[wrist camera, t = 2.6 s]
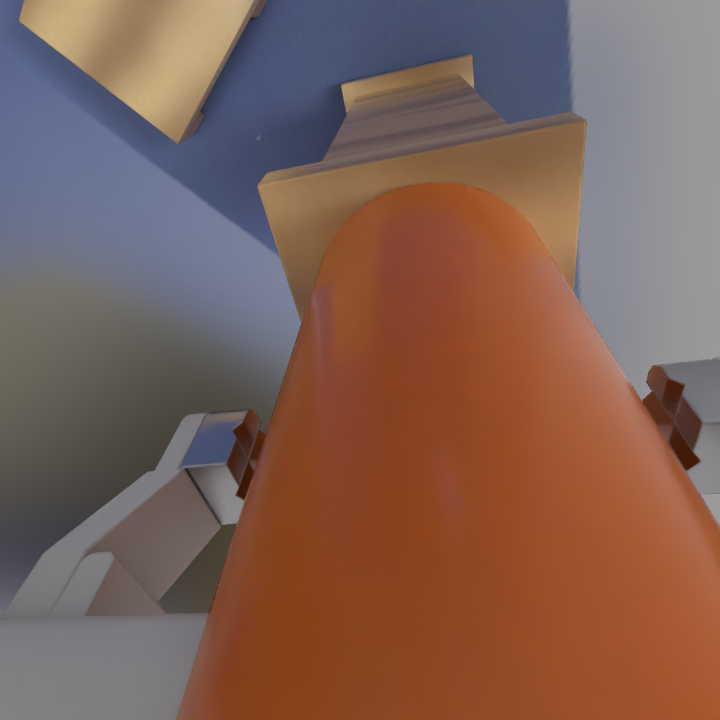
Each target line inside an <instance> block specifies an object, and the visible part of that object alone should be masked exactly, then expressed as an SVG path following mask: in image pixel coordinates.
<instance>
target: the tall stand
mask: <svg viewBox="0 0 720 720" xmlns="http://www.w3.org/2000/svg"><path fill="white" fill-rule="evenodd" d="M341 89H342V94H343V99H344V104H345V109H346V114H347V115H346V117H345V119H344V121H343V123H342V125H341V127H340V128H339V130H338V132H337V134H336V136H335V138H334V140H333V142H332V143H331V145H330V147H329V149H328V151H327V153H326V155H325V156H324V158H323V160H322V162H317V163H312V164H307V165H302V166H297V167H292V168H287V169H282V170H277V171H272V172H268V173H267V174H266V175H265V176H264V177H263V179H262V180H261V181H260V182H259V183H258V185H257V188H258V191H259V194H260V197H261V200H262V203H263V206H264V209H265V212H266V215H267V218H268V222H269V225H270V228H271V231H272V234H273V237H274V240H275V243H276V246H277V249H278V252H279V255H280V259H281V262H282V265H283V268H284V271H285V274H286V277H287V280H288V283H289V286H290V289H291V292H292V296H293V299H294V302H295V305H296V308H297V311H298V314H299V317H300V320H301V323H302V320H303V317H304V314H305V311H306V308H307V305H308V301H309V298H310V295H311V292H312V289H313V286H314V283H315V280H316V277H317V273H318V270H319V267H320V264H321V261H322V259H323V256H324V254H325V251H326V249H327V247H328V245H329V244H330V242H331V240H332V238H333V237H334V235H335V234H336V233H337V232H338V230H339V229H340V228H341V226H342V225H343V224H344V223H345V222H346V221H347V220H348V219H349V218H350V217H351V216H352V215H353V214H354V213H356V212H357V211H358V210H360V209H361V208H362V207H364V206H365V205H366V204H368V203H369V202H371V201H373V200H375V199H377V198H378V197H380V196H382V195H384V194H387V193H389V192H392V191H394V190H397V189H400V188H404V187H408V186H412V185H416V184H425V183H455V184H461V185H468V186H471V187H475V188H478V189H481V190H485V191H487V192H489V193H491V194H493V195H495V196H497V197H500V198H501V199H503V200H504V201H506V202H507V203H509V204H510V205H512V206H513V207H514V208H515V209H517V210H518V211H519V212H520V213H521V214H522V215H523V216H524V217H525V218H526V219H527V220H528V222H529V223H530V224H531V225H532V227H533V228H534V229H535V231H536V232H537V234H538V235H539V237H540V239H541V240H542V242H543V244H544V245H545V247H546V248H547V250H548V252H549V253H550V255H551V256H552V258H553V260H554V261H555V263H556V264H557V266H558V268H559V269H560V271H561V272H562V274H563V276H564V277H565V279H566V280H567V282H568V284H569V285H570V287H571V288H572V290H573V292H574V282H575V269H576V256H577V243H578V230H579V217H580V203H581V191H582V178H583V165H584V152H585V140H586V126H587V122H586V120H585V119H583V118H582V117H580V116H578V115H576V114H575V113H573V112H566V113H561V114H556V115H551V116H546V117H541V118H536V119H531V120H526V121H521V122H516V123H511V124H508V123H507V122H506V121H505V120H504V119H503V118H502V117H501V116H500V115H499V114H498V113H497V112H496V111H495V110H494V109H493V108H492V107H491V106H490V105H489V104H488V103H487V102H486V101H485V100H484V99H483V98H482V97H481V95H480V94H479V93H478V92H477V91H476V90H475V89H474V78H473V58H472V55H471V54H467V55H462V56H458V57H454V58H449V59H445V60H441V61H436V62H432V63H428V64H423V65H419V66H415V67H410V68H406V69H401V70H397V71H393V72H388V73H384V74H380V75H375V76H371V77H367V78H362V79H358V80H354V81H349V82H345V83H342V85H341Z"/></svg>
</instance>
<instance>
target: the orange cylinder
mask: <svg viewBox="0 0 720 720" xmlns="http://www.w3.org/2000/svg"><path fill="white" fill-rule="evenodd" d="M176 720H720V525H719V524H718V522H717V521H716V519H715V517H714V516H713V514H712V513H711V511H710V510H709V508H708V506H707V505H706V503H705V501H704V500H703V498H702V497H701V495H700V493H699V492H698V490H697V489H696V487H695V485H694V484H693V482H692V481H691V479H690V477H689V476H688V474H687V473H686V471H685V469H684V468H683V466H682V465H681V463H680V461H679V460H678V458H677V456H676V455H675V453H674V452H673V450H672V448H671V447H670V445H669V444H668V442H667V440H666V439H665V437H664V436H663V434H662V432H661V431H660V429H659V428H658V426H657V424H656V423H655V421H654V420H653V418H652V416H651V415H650V413H649V412H648V410H647V408H646V407H645V405H644V404H643V402H642V401H641V399H640V397H639V396H638V394H637V393H636V391H635V389H634V388H633V386H632V385H631V383H630V381H629V380H628V378H627V376H626V375H625V373H624V372H623V370H622V369H621V367H620V365H619V364H618V362H617V360H616V359H615V357H614V356H613V354H612V352H611V351H610V349H609V348H608V346H607V344H606V343H605V341H604V340H603V338H602V336H601V335H600V333H599V332H598V330H597V329H596V327H595V325H594V324H593V322H592V320H591V319H590V317H589V316H588V314H587V313H586V311H585V309H584V308H583V306H582V304H581V303H580V301H579V300H578V298H577V296H576V295H575V293H574V292H573V290H572V288H571V287H570V285H569V284H568V282H567V280H566V279H565V277H564V276H563V274H562V272H561V271H560V269H559V268H558V266H557V264H556V263H555V261H554V260H553V258H552V256H551V255H550V253H549V252H548V250H547V248H546V247H545V245H544V244H543V242H542V240H541V239H540V237H539V235H538V234H537V232H536V231H535V229H534V228H533V227H532V225H531V224H530V223H529V222H528V220H527V219H526V218H525V217H524V216H523V215H522V214H521V213H520V212H519V211H518V210H517V209H515V208H514V207H513V206H512V205H510V204H509V203H507V202H506V201H504V200H503V199H501V198H500V197H497V196H495V195H493V194H491V193H489V192H487V191H485V190H481V189H478V188H475V187H471V186H468V185H461V184H455V183H425V184H416V185H412V186H408V187H404V188H400V189H397V190H394V191H392V192H389V193H387V194H384V195H382V196H380V197H378V198H377V199H375V200H373V201H371V202H369V203H368V204H366V205H365V206H364V207H362V208H361V209H360V210H358V211H357V212H356V213H354V214H353V215H352V216H351V217H350V218H349V219H348V220H347V221H346V222H345V223H344V224H343V225H342V226H341V228H340V229H339V230H338V232H337V233H336V234H335V235H334V237H333V238H332V240H331V242H330V244H329V245H328V247H327V249H326V251H325V254H324V256H323V259H322V261H321V264H320V267H319V270H318V273H317V277H316V280H315V283H314V286H313V289H312V292H311V295H310V298H309V301H308V305H307V308H306V311H305V314H304V317H303V320H302V323H301V326H300V330H299V333H298V336H297V339H296V342H295V345H294V348H293V351H292V354H291V358H290V361H289V364H288V367H287V370H286V373H285V376H284V379H283V383H282V386H281V389H280V392H279V395H278V398H277V401H276V404H275V408H274V411H273V414H272V417H271V420H270V423H269V426H268V429H267V432H266V435H265V438H264V442H263V445H262V448H261V451H260V454H259V457H258V460H257V463H256V467H255V470H254V473H253V476H252V479H251V482H250V485H249V488H248V491H247V495H246V498H245V501H244V504H243V507H242V510H241V513H240V516H239V519H238V523H237V526H236V529H235V532H234V535H233V539H232V541H231V544H230V547H229V551H228V554H227V557H226V560H225V563H224V566H223V569H222V572H221V576H220V579H219V582H218V585H217V588H216V591H215V594H214V597H213V600H212V604H211V607H210V610H209V613H208V616H207V620H206V624H205V627H204V631H203V634H202V637H201V640H200V644H199V647H198V650H197V653H196V657H195V660H194V663H193V666H192V670H191V673H190V676H189V679H188V682H187V686H186V689H185V692H184V695H183V698H182V701H181V704H180V707H179V711H178V714H177V717H176Z"/></svg>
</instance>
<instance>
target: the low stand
mask: <svg viewBox="0 0 720 720" xmlns="http://www.w3.org/2000/svg"><path fill="white" fill-rule="evenodd" d="M267 1H268V0H24V3H23V7H22V10H21V14H20V18H19V21H20V22H21V23H22V24H24V25H25V26H26V27H27V28H29V29H30V30H31V31H33V32H34V33H35V34H36V35H38V36H39V37H40V38H42V39H43V40H44V41H45V42H47V43H48V44H49V45H51V46H52V47H53V48H54V49H56V50H57V51H58V52H60V53H61V54H62V55H64V56H65V57H66V58H67V59H69V60H70V61H71V62H73V63H74V64H75V65H76V66H78V67H79V68H80V69H82V70H83V71H84V72H85V73H87V74H88V75H89V76H91V77H92V78H93V79H94V80H96V81H97V82H98V83H100V84H101V85H102V86H104V87H105V88H106V89H107V90H109V91H110V92H111V93H113V94H114V95H115V96H116V97H118V98H119V99H120V100H122V101H123V102H124V103H125V104H127V105H128V106H129V107H131V108H132V109H133V110H135V111H136V112H137V113H138V114H140V115H141V116H142V117H144V118H145V119H146V120H147V121H149V122H150V123H151V124H153V125H154V126H155V127H156V128H158V129H159V130H160V131H162V132H163V133H164V134H165V135H167V136H168V137H169V138H171V139H172V140H173V141H175V142H176V143H177V144H179V143H180V142H182V141H184V140H185V139H187V138H189V137H190V136H192V135H194V134H195V132H196V131H197V129H198V127H199V125H200V123H201V121H202V120H203V118H204V114H203V113H202V112H200V111H201V109H202V107H203V105H204V103H205V101H206V100H207V98H208V96H209V94H210V92H211V90H212V88H213V87H214V85H215V83H216V81H217V79H218V77H219V75H220V74H221V72H222V70H223V68H224V66H225V64H226V62H227V61H228V59H229V57H230V55H231V53H232V51H233V49H234V48H235V46H236V44H237V42H238V40H239V38H240V36H241V35H242V33H243V31H244V29H245V27H246V25H247V23H248V21H249V20H250V18H251V17H259V15H260V14H261V12H262V10H263V8H264V6H265V4H266V3H267Z"/></svg>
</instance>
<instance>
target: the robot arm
mask: <svg viewBox="0 0 720 720" xmlns="http://www.w3.org/2000/svg"><path fill="white" fill-rule="evenodd" d="M646 383H647V384H648V386H649V387H650V389H651V390H652V392H651V393H650V394H649V395H648V396H647V397H646V398H645V399H643V401H642V402H643V404H644V405H645V407H646V408H647V410H648V412H649V413H650V415H651V416H652V418H653V420H654V421H655V423H656V424H657V426H658V428H659V429H660V431H661V432H662V434H663V436H664V437H665V439H666V440H667V442H668V444H669V445H670V447H671V448H672V450H673V452H674V453H675V455H676V456H677V458H678V460H679V461H680V463H681V465H682V466H683V468H684V469H685V471H686V473H687V474H688V476H689V477H690V479H691V481H692V482H693V484H694V485H695V487H696V489H697V490H698V492H699V493H700V494H720V357H718V358H713V359H706V360H697V361H688V362H679V363H671V364H662V365H653V366H652V368H651V369H650V371H649V372H648V377H647V381H646ZM260 425H261V420H260V418H259V416H258V414H257V412H256V411H255V410H253V409H244V410H232V411H221V412H210V413H201V414H189V415H188V416H186V417H185V418H184V419H183V420H182V422H181V424H180V425H179V427H178V429H177V431H176V433H175V435H174V436H173V438H172V440H171V442H170V444H169V446H168V447H167V449H166V451H165V453H164V455H163V457H162V458H161V460H160V462H159V464H158V466H157V467H156V469H155V471H152V472H147V473H146V474H144V475H143V476H142V477H141V478H139V479H138V480H137V481H135V482H134V483H133V484H132V485H130V486H129V487H128V488H126V489H125V490H124V491H123V492H121V493H120V494H119V495H118V496H116V497H115V498H114V499H112V500H111V501H110V502H108V503H107V504H106V505H105V506H103V507H102V508H101V509H99V510H98V511H97V512H96V513H94V514H93V515H92V516H91V517H89V518H88V519H87V520H85V521H84V522H83V523H81V524H80V525H79V526H78V527H76V528H75V529H74V530H72V531H71V532H70V533H69V534H67V535H66V536H65V537H63V538H62V539H61V540H60V541H58V542H57V543H56V544H55V545H53V546H52V547H51V548H49V549H48V550H47V551H45V552H44V553H43V555H42V556H41V557H40V559H39V561H38V562H37V564H36V565H35V566H34V568H33V570H32V571H31V573H30V574H29V575H28V577H27V578H26V580H25V581H24V583H23V584H22V586H21V587H20V589H19V590H18V592H17V593H16V595H15V596H14V598H13V599H12V601H11V602H10V604H9V605H8V607H7V608H6V610H5V611H4V613H3V614H2V616H1V617H0V720H176V717H177V714H178V711H179V707H180V704H181V701H182V698H183V695H184V692H185V689H186V686H187V682H188V679H189V676H190V673H191V670H192V666H193V663H194V660H195V657H196V653H197V650H198V647H199V644H200V640H201V637H202V634H203V631H204V627H205V624H206V620H207V616H208V613H184V614H183V613H182V614H169V613H168V612H167V611H166V610H165V609H164V608H163V607H162V606H161V605H160V604H159V602H158V601H159V600H160V598H161V597H162V596H163V595H164V594H165V593H166V591H167V590H168V589H169V588H170V587H171V585H172V584H173V583H174V582H175V581H176V580H177V578H178V577H179V576H180V575H181V573H182V572H183V571H184V570H185V569H186V568H187V567H188V565H189V564H190V563H191V562H192V561H193V559H194V558H195V557H196V556H197V555H198V554H199V552H200V551H201V550H202V549H203V548H204V546H205V545H206V544H207V543H208V542H209V541H210V539H211V538H212V537H213V536H214V535H215V533H216V532H217V531H218V530H219V529H220V528H221V526H220V525H223V524H233V523H238V519H239V516H240V513H241V510H242V507H243V504H244V501H245V498H246V495H247V491H248V488H249V485H250V482H251V479H252V476H253V473H254V470H255V467H256V463H257V460H258V457H259V454H260V451H261V448H262V445H263V442H264V438H265V434H264V433H262V432H261V431H259V428H260Z"/></svg>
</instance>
